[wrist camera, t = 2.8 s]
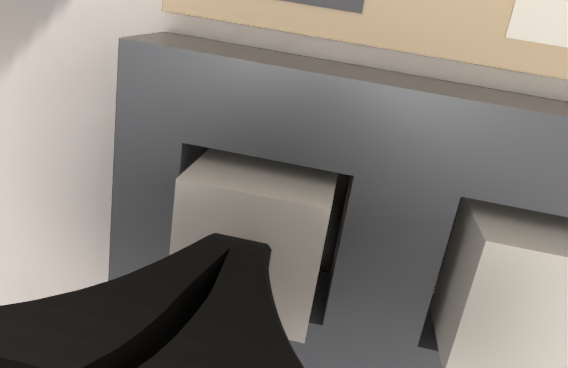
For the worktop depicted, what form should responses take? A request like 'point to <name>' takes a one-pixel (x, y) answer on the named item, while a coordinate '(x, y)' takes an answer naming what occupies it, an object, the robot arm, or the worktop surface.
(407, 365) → the button board
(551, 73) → the pattern card
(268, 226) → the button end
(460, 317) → the button middle
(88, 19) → the worktop surface
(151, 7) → the worktop surface
